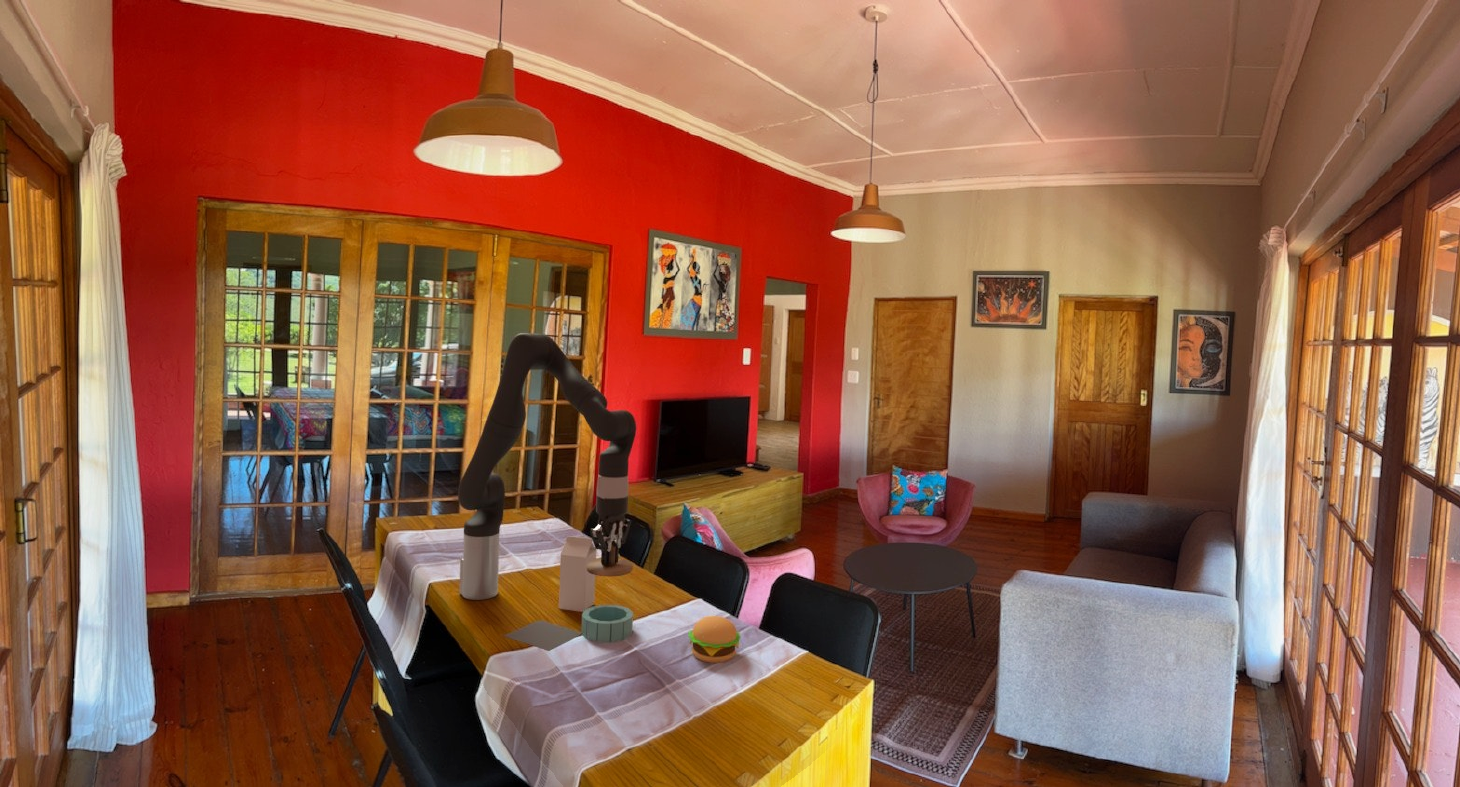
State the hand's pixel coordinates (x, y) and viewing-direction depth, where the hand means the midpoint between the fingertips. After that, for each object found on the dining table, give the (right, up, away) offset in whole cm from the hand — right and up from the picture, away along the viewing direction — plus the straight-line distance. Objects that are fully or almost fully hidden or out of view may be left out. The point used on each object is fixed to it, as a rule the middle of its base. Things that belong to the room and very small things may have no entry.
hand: (609, 563), depth 176 cm
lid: (0, -1, 0) cm, 1 cm away
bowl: (-1, -17, +1) cm, 17 cm away
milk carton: (-12, -16, +17) cm, 26 cm away
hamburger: (+25, -20, -7) cm, 33 cm away
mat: (-15, -17, -2) cm, 23 cm away
